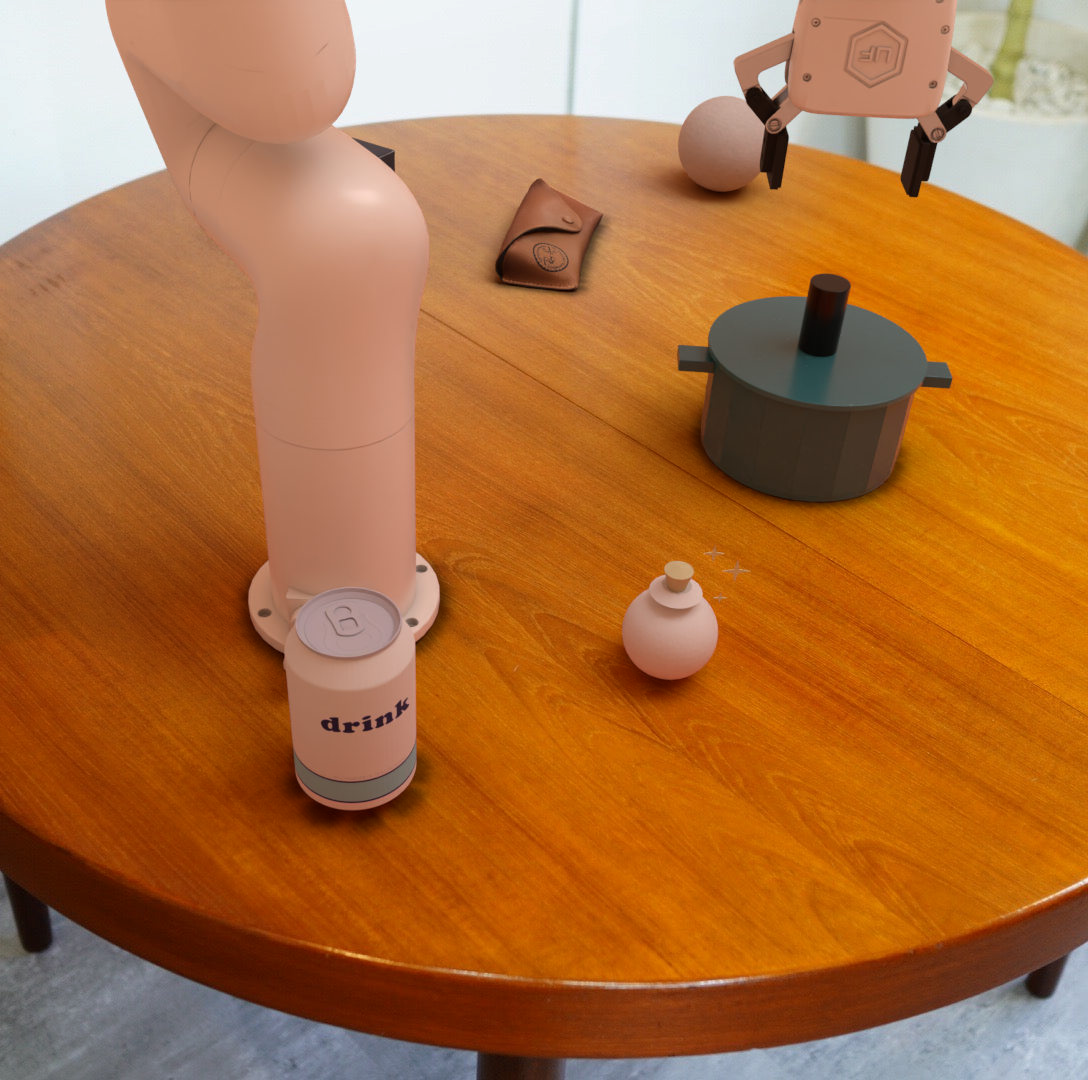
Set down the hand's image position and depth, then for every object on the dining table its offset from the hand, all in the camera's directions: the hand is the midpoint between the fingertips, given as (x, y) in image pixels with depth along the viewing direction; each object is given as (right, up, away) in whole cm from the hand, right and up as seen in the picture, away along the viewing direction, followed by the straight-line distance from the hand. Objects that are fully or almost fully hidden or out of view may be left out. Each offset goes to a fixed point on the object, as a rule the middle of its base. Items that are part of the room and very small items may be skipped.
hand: (840, 185), depth 93 cm
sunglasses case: (-20, +4, +39) cm, 44 cm away
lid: (0, -11, +8) cm, 13 cm away
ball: (-2, +14, +53) cm, 55 cm away
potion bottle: (-13, -33, -8) cm, 37 cm away
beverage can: (-32, -39, -17) cm, 53 cm away
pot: (-1, -17, +13) cm, 22 cm away
